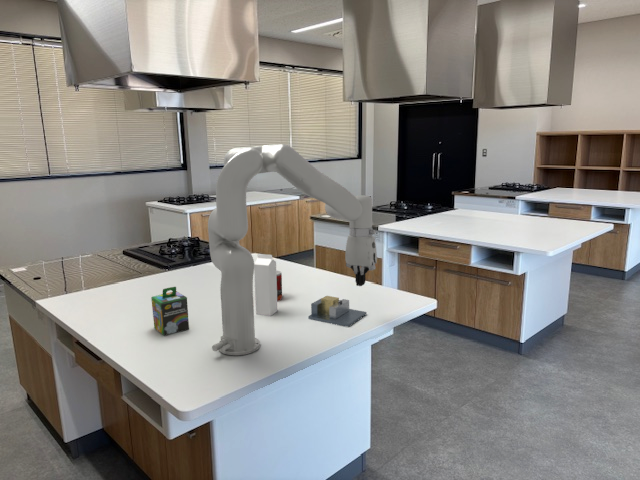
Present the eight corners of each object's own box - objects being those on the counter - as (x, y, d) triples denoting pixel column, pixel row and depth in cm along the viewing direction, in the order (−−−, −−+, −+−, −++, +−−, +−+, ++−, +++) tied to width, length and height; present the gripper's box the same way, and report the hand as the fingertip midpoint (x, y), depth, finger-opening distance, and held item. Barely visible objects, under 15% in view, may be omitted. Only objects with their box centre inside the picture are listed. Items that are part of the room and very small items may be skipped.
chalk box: (179, 322, 164) (176, 281, 161) (190, 329, 157) (187, 287, 154) (153, 328, 158) (149, 286, 155) (163, 336, 151) (159, 292, 148)
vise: (348, 327, 157) (348, 312, 156) (308, 318, 165) (308, 305, 165) (366, 314, 169) (366, 301, 168) (328, 307, 177) (328, 294, 176)
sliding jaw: (335, 319, 162) (335, 305, 161) (329, 317, 163) (329, 304, 162) (349, 310, 170) (349, 297, 169) (343, 309, 171) (343, 296, 171)
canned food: (279, 302, 184) (278, 275, 182) (259, 301, 185) (259, 274, 183) (284, 296, 191) (283, 270, 189) (265, 295, 193) (265, 269, 191)
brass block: (333, 315, 165) (333, 300, 164) (321, 313, 168) (321, 298, 167) (338, 312, 169) (338, 297, 168) (327, 310, 171) (326, 295, 170)
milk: (263, 309, 176) (261, 252, 172) (277, 310, 174) (276, 253, 170) (255, 314, 171) (253, 255, 167) (270, 316, 169) (268, 256, 165)
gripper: (385, 232, 156) (384, 285, 159) (346, 229, 164) (346, 279, 167) (376, 236, 150) (375, 291, 153) (335, 232, 157) (336, 284, 161)
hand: (360, 284), depth 160 cm, fingers closed
